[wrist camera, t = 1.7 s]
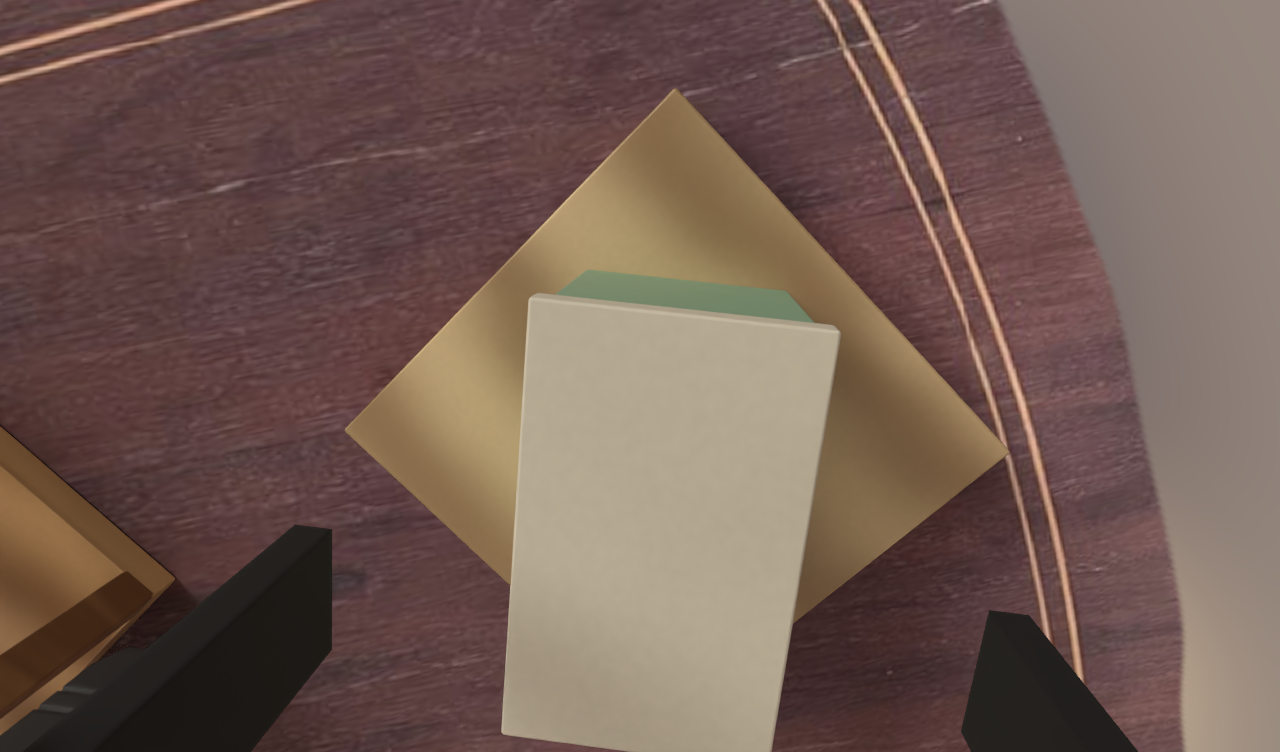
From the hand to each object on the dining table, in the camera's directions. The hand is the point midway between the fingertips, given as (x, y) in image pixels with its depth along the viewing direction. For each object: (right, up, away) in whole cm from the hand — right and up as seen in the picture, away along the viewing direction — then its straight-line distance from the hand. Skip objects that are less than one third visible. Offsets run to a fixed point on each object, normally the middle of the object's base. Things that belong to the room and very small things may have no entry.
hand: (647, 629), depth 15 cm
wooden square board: (+1, +4, +13) cm, 14 cm away
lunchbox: (+1, +3, +11) cm, 11 cm away
